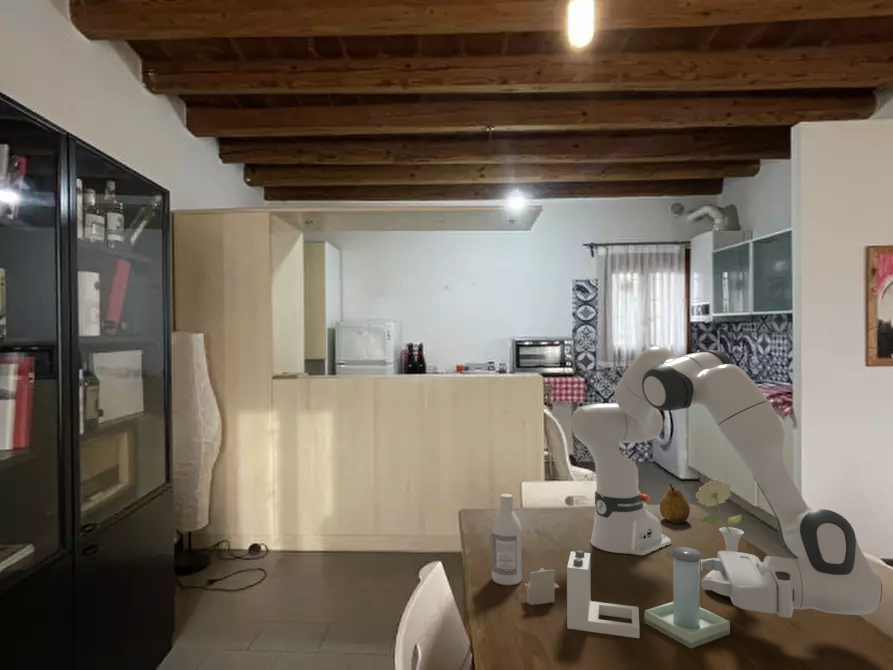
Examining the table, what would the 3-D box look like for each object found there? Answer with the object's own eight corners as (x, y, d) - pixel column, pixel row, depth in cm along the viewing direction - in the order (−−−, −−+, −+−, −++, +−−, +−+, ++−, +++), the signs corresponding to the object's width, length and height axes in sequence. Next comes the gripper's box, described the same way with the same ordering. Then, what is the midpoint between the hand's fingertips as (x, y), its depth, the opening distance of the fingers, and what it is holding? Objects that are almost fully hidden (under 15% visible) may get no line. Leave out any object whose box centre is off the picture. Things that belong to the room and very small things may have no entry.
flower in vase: (755, 585, 135) (755, 476, 135) (764, 607, 125) (764, 489, 125) (694, 578, 140) (694, 472, 140) (698, 598, 129) (697, 484, 129)
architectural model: (523, 600, 129) (523, 566, 129) (552, 596, 131) (552, 563, 131) (530, 607, 126) (529, 572, 126) (559, 603, 128) (559, 569, 128)
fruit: (681, 516, 188) (681, 478, 188) (695, 525, 179) (695, 485, 179) (655, 516, 187) (655, 479, 187) (667, 525, 178) (667, 486, 178)
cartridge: (684, 614, 119) (684, 545, 119) (706, 625, 115) (706, 553, 115) (666, 620, 117) (666, 549, 117) (688, 631, 112) (688, 558, 112)
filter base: (638, 616, 120) (638, 554, 120) (639, 638, 112) (639, 571, 112) (571, 608, 124) (570, 547, 124) (567, 628, 116) (567, 563, 116)
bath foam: (503, 571, 144) (502, 489, 144) (527, 579, 139) (527, 494, 139) (486, 580, 138) (486, 495, 138) (510, 588, 134) (510, 501, 134)
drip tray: (682, 610, 123) (682, 598, 123) (729, 634, 113) (729, 621, 113) (644, 622, 118) (644, 610, 118) (690, 648, 108) (690, 634, 108)
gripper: (765, 546, 121) (692, 539, 125) (792, 586, 101) (704, 576, 105) (765, 577, 121) (692, 569, 125) (792, 623, 101) (705, 612, 105)
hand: (698, 573), depth 115 cm, fingers open, 8 cm apart
